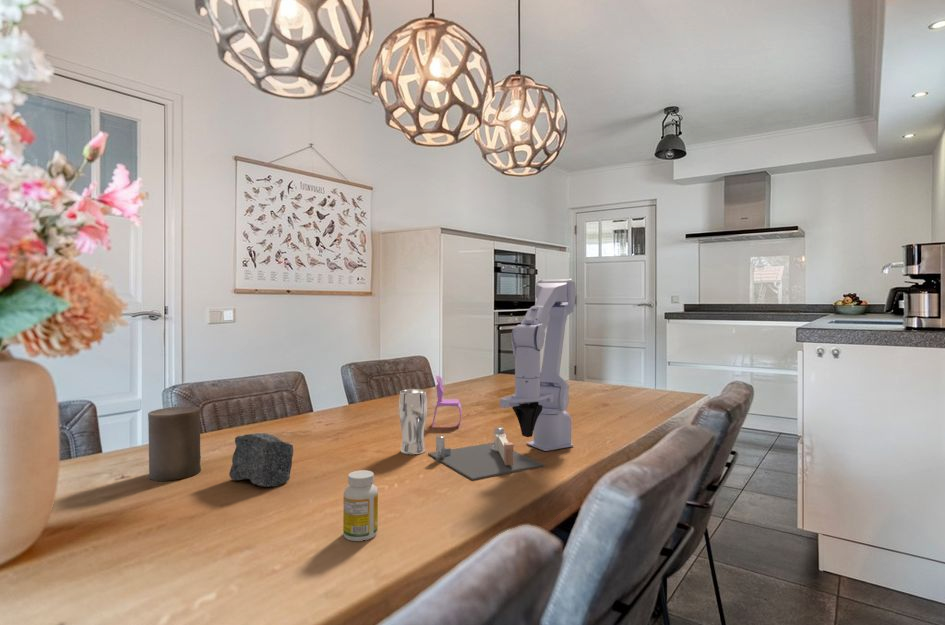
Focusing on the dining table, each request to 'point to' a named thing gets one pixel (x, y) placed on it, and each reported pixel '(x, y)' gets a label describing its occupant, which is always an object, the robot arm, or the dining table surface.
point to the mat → (484, 462)
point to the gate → (504, 448)
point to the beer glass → (412, 420)
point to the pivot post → (497, 431)
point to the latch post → (441, 448)
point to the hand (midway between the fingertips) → (527, 436)
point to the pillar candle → (174, 443)
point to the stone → (261, 459)
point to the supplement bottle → (360, 507)
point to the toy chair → (445, 401)
